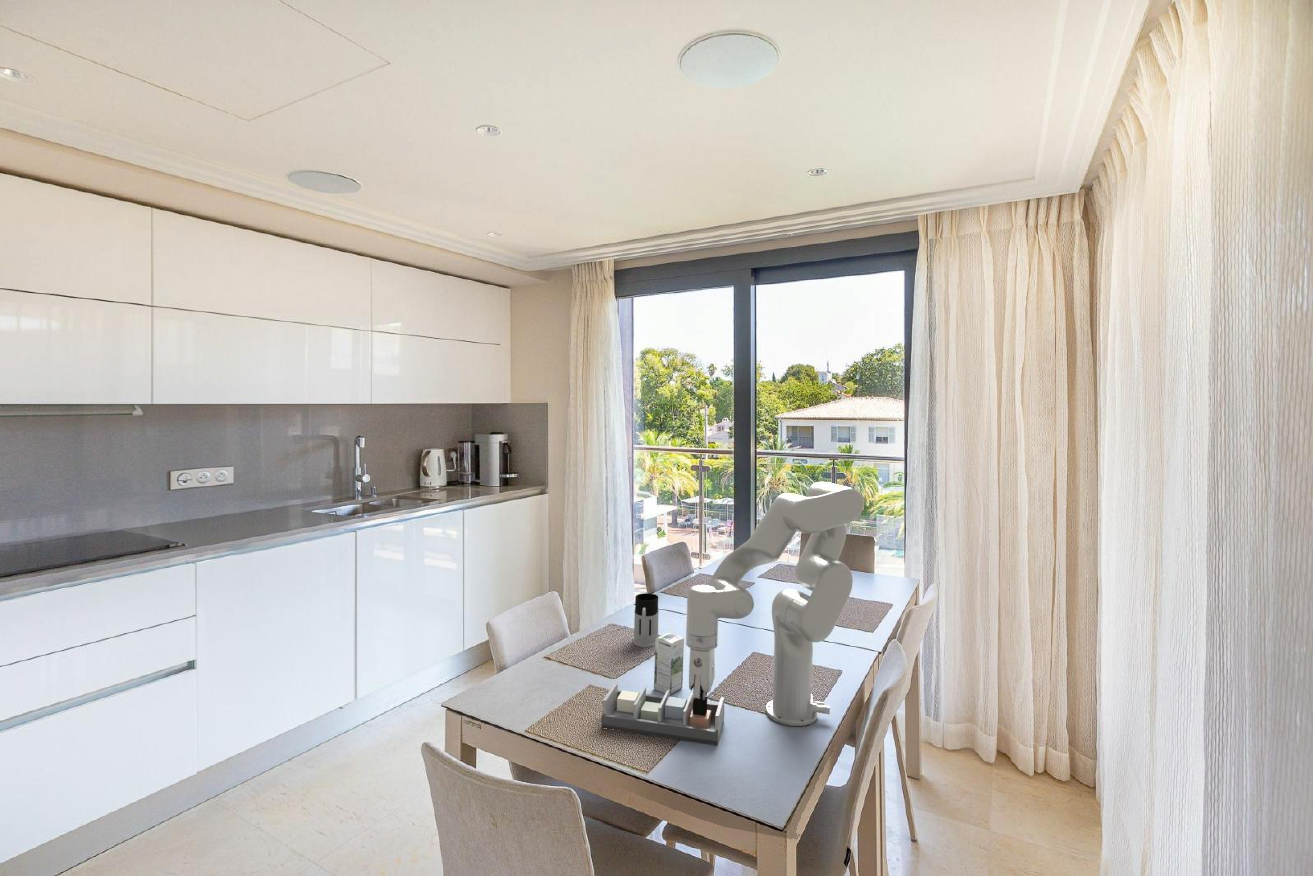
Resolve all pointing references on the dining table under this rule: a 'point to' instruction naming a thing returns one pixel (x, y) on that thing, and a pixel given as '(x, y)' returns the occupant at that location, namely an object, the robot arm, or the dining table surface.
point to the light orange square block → (700, 720)
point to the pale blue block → (675, 708)
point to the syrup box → (668, 663)
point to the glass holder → (646, 620)
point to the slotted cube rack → (662, 719)
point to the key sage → (650, 711)
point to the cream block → (626, 701)
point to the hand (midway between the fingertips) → (699, 713)
